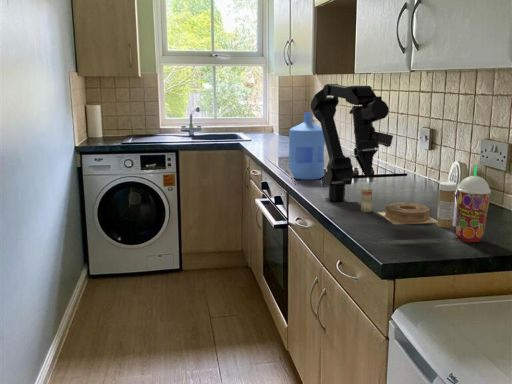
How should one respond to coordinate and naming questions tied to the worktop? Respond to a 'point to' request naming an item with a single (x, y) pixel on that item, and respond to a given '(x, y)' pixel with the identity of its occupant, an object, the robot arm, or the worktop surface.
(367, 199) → the cream banded cylinder
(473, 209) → the smoothie
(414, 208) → the bead
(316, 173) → the water jug
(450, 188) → the sprinkles bottle
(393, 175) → the worktop surface
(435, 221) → the board
